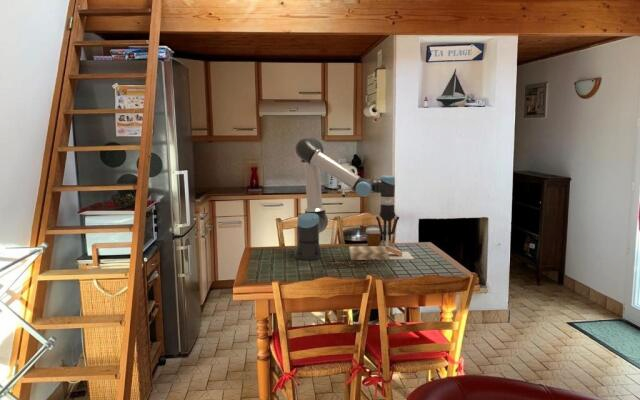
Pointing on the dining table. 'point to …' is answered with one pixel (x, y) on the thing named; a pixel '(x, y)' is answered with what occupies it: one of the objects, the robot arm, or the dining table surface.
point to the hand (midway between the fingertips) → (386, 246)
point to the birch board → (368, 253)
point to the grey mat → (404, 256)
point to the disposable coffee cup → (373, 236)
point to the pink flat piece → (394, 250)
